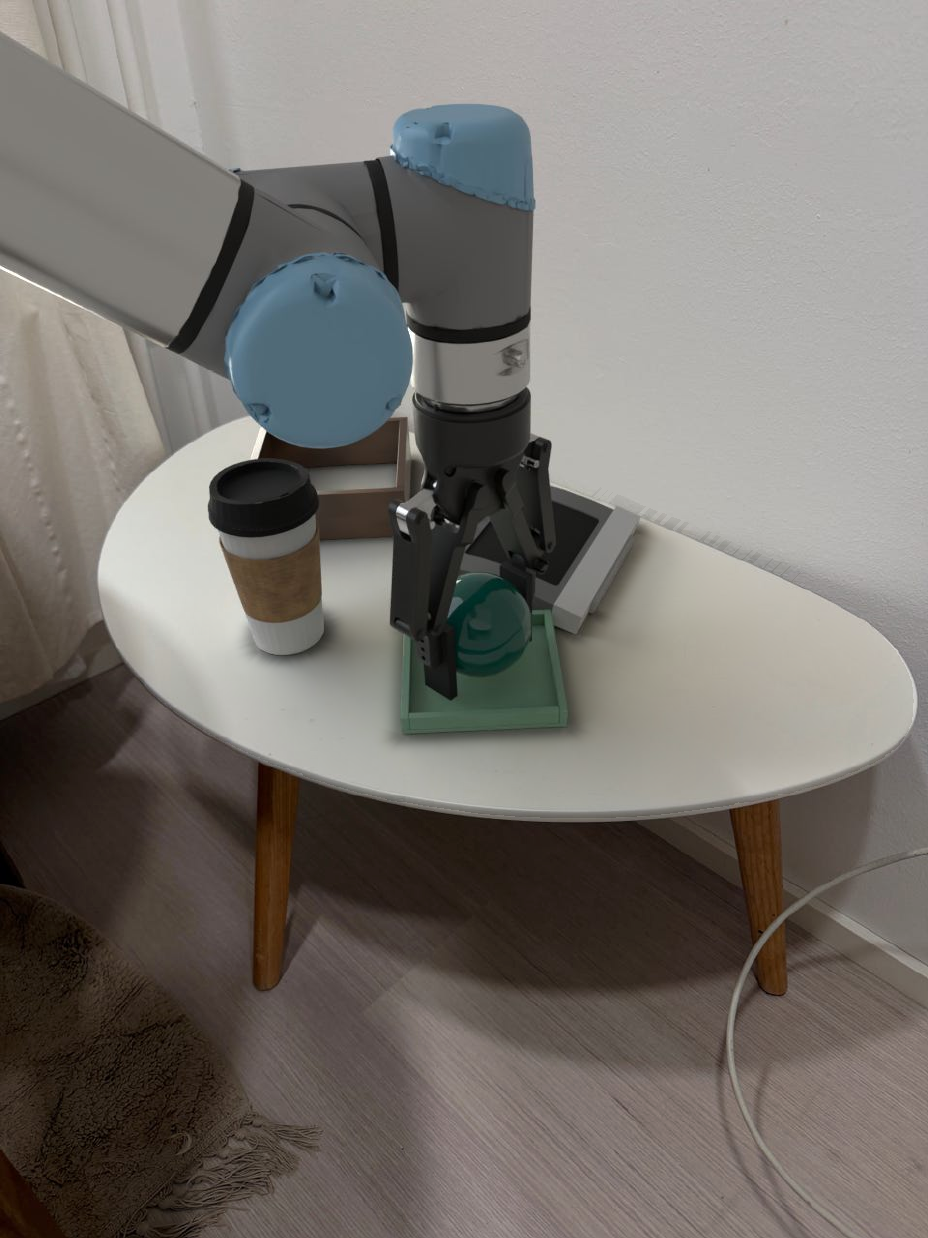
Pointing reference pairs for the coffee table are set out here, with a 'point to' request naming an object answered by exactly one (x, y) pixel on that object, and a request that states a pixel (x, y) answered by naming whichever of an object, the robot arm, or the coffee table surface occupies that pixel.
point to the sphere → (488, 624)
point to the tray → (490, 691)
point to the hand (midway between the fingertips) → (479, 661)
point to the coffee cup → (272, 549)
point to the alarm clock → (566, 556)
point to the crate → (356, 507)
